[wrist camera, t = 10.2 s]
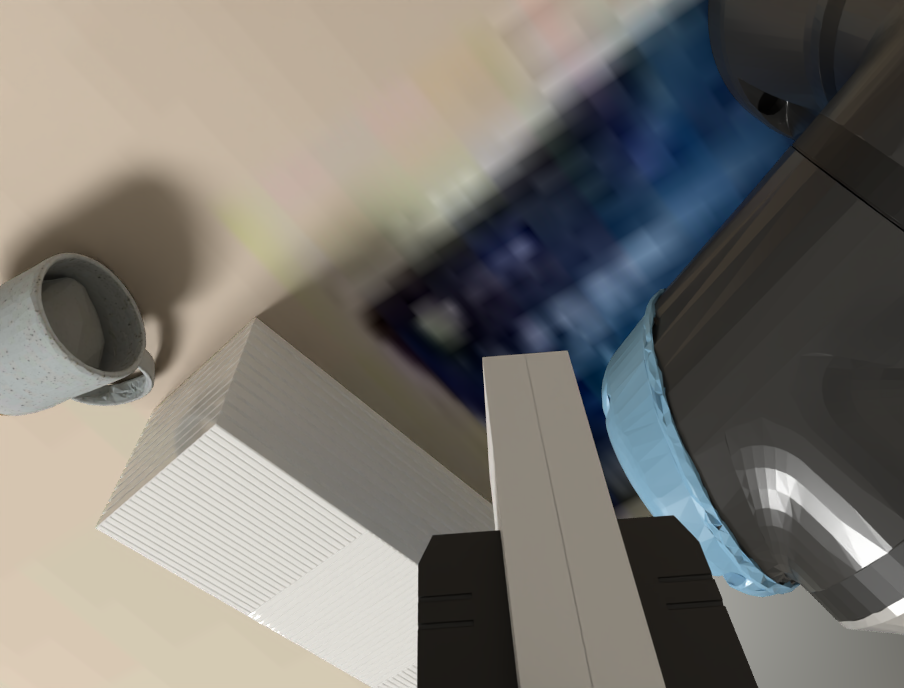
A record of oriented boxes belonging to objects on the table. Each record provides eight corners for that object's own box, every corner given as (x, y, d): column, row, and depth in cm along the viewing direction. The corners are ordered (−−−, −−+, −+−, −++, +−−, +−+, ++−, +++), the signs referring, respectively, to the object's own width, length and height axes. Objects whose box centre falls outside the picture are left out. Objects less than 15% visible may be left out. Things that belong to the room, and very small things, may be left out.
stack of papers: (568, 563, 60) (594, 688, 51) (469, 622, 64) (477, 749, 55) (256, 314, 47) (215, 424, 37) (154, 408, 50) (94, 528, 41)
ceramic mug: (-29, 288, 45) (-103, 362, 38) (76, 228, 43) (16, 295, 36) (97, 408, 50) (50, 491, 44) (195, 359, 48) (161, 438, 42)
